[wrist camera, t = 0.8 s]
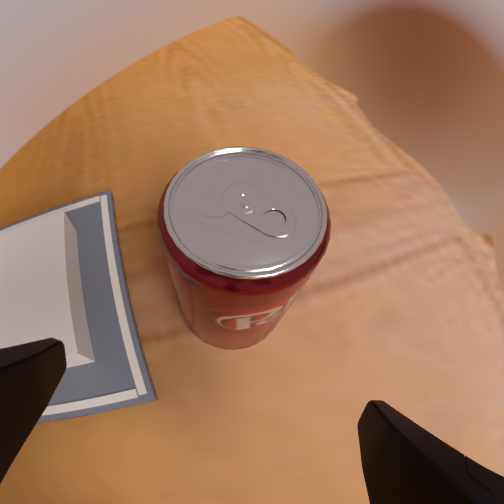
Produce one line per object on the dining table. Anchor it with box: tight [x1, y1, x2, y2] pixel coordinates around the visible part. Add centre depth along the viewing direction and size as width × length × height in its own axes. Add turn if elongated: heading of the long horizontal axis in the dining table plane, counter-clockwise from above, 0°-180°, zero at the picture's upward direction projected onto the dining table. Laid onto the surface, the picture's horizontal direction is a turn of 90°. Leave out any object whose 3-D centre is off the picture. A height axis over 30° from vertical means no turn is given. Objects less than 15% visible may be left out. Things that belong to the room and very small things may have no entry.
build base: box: [0, 190, 158, 423], centre depth 18 cm, size 18×18×4 cm
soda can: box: [157, 146, 331, 350], centre depth 17 cm, size 7×7×12 cm
